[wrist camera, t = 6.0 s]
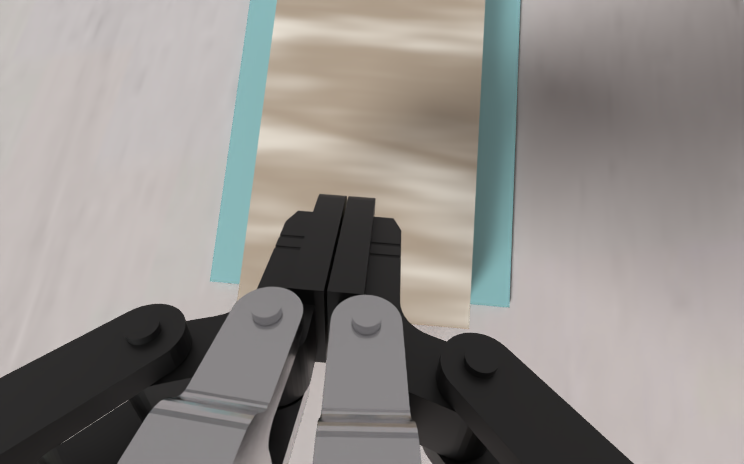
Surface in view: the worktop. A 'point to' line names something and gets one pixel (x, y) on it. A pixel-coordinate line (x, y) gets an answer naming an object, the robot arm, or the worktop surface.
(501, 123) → the mat
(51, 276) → the worktop surface
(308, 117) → the block
